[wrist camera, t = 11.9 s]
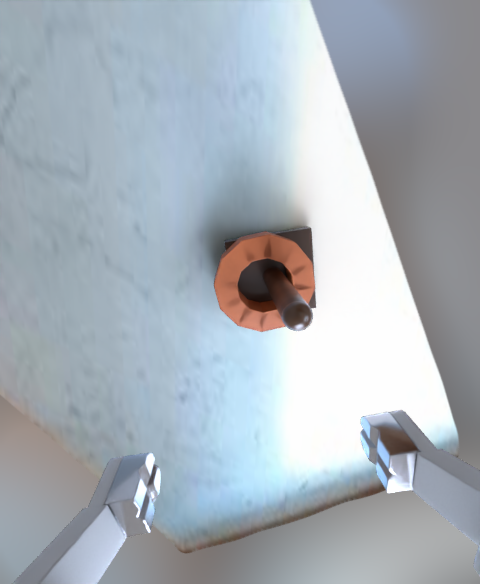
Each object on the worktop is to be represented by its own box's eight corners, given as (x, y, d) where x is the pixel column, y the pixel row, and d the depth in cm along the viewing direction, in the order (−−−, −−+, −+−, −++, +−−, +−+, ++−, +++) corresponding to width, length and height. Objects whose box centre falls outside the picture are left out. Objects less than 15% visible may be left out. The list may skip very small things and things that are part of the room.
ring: (206, 244, 28) (204, 249, 25) (299, 223, 28) (307, 225, 25) (228, 327, 32) (228, 339, 29) (311, 309, 31) (319, 319, 29)
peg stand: (224, 240, 30) (222, 268, 17) (307, 226, 29) (369, 243, 17) (237, 315, 33) (244, 387, 20) (312, 303, 33) (367, 367, 20)
